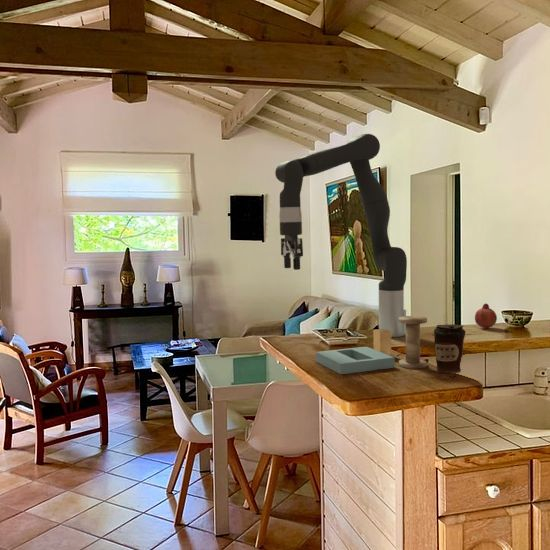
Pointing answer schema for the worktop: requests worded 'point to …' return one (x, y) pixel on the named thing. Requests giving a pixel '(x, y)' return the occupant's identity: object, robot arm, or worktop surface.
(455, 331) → the coffee cup
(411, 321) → the bobbin
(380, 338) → the orange rectangular block
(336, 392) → the worktop surface
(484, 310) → the fruit
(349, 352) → the board
